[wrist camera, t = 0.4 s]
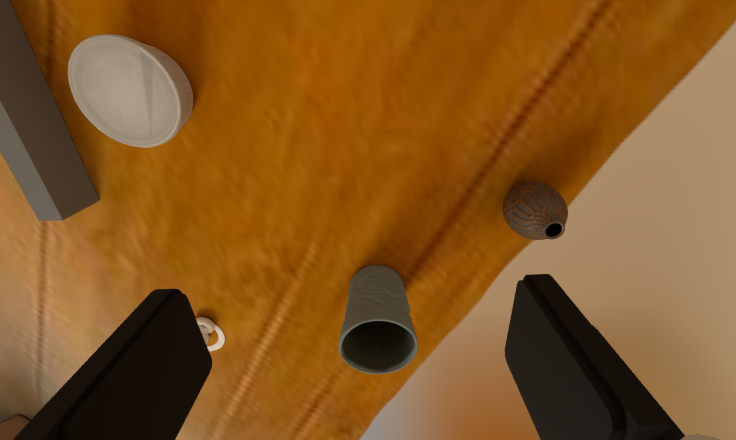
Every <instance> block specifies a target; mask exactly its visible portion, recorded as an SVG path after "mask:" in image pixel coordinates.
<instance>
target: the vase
mask: <svg viewBox="0 0 736 440" xmlns="http://www.w3.org/2000/svg"><path fill="white" fill-rule="evenodd" d="M503 214H504V217H505V220H506V222H507V223H508V225H509V226H510V227H511V229H512V230H513V231H515V232H516V233H517V234H519V235H521V236H523V237H525V238H528V239H532V240H543V239H556V238H558V237H560V236H561V235H562V234H563V233H564V231H565V223H566V221H567V216H568V210H567V205H566V203H565V201H564V199H563V197H562V196H561V195H560V194H559V192H557V191H556V190H555V189H553V188H552V187H550V186H548V185H546V184H543V183H539V182H526V183H522V184H520V185H518V186H516V187H514V188H513V189H512V190H511V191H510V192H509V193H508V194H507V196H506V198H505V200H504V203H503Z"/></svg>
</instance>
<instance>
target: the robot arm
mask: <svg viewBox="0 0 736 440" xmlns="http://www.w3.org/2000/svg"><path fill="white" fill-rule="evenodd" d="M505 357H506V361H507V364H508V366H509V369H510V371H511V373H512V375H513V377H514V380H515V382H516V384H517V387H518V389H519V391H520V394H521V396H522V398H523V400H524V403H525V405H526V407H527V409H528V412H529V414H530V416H531V419H532V421H533V423H534V425H535V427H536V430H537V432H538V434H539V436H540V439H541V440H719V439H716V438H714V437H709V436H704V435H698V434H697V435H688V436H685V435H684V434H683V433H682V432H681V430H680V429H679V428H678V427H677V425H676V424H675V423H674V422H673V421H672V419H671V418H670V417H669V416H668V415H667V413H666V412H665V411H664V410H663V409H662V407H661V406H660V405H659V404H658V402H657V401H656V400H655V399H654V398H653V396H652V395H651V394H650V393H649V392H648V390H647V389H646V388H645V387H644V386H643V384H642V383H641V382H640V381H639V380H638V378H637V377H636V376H635V375H634V373H633V372H632V371H631V370H630V369H629V368H628V366H627V365H626V364H625V362H624V361H623V360H622V359H621V358H620V357H619V355H618V354H617V353H616V352H615V350H614V349H613V348H612V347H611V346H610V344H609V343H608V342H607V341H606V340H605V338H604V337H603V336H602V335H601V333H600V332H599V331H598V330H597V329H596V328H595V327H594V326H593V325H591V324H590V322H589V321H588V320H587V319H586V318H585V316H584V315H583V314H582V313H581V312H580V310H579V309H578V308H577V307H576V306H575V304H574V303H573V302H572V300H571V299H570V298H569V297H568V296H567V294H566V293H565V292H564V291H563V290H562V288H561V287H560V286H559V285H558V283H557V282H556V281H555V280H554V279H553V277H552V276H551V275H549V274H538V275H537V274H535V275H526V276H525V277H524V279H523V280H520V281H518V283H517V287H516V293H515V298H514V304H513V309H512V314H511V320H510V325H509V330H508V335H507V341H506V346H505ZM211 367H212V358H211V355H210V353H209V350H208V348H207V345H206V343H205V340H204V338H203V335H202V333H201V330H200V328H199V325H198V323H197V320H196V318H195V315H194V313H193V310H192V308H191V305H190V303H189V300H188V298H187V296H186V295H185V294H182V293H181V291H180V290H178V289H157V290H154V291H153V292H151V293H150V294H149V295H148V296H147V297H146V299H145V300H144V301H143V302H142V303H141V304H140V305H139V306H138V307H137V308H136V309H135V310H134V311H133V312H132V313H131V314H130V316H129V317H128V318H127V319H126V320H125V321H124V322H123V323H122V324H121V325H120V326H119V327H118V328H117V329H116V330H115V331H114V332H113V334H112V335H111V336H110V337H109V338H108V339H107V340H106V341H105V342H104V343H103V344H102V345H101V346H100V347H99V348H98V349H97V351H96V352H95V353H94V354H93V355H92V356H91V357H90V358H89V359H88V360H87V361H86V362H85V363H84V364H83V365H82V366H81V368H80V369H79V370H78V371H77V372H76V373H75V374H74V375H73V376H72V377H71V378H70V379H69V380H68V381H67V382H66V383H65V385H64V386H63V387H62V388H61V389H60V390H59V391H58V392H57V393H56V394H55V395H54V396H53V397H52V398H51V399H50V400H49V401H48V403H47V404H46V405H45V406H44V407H43V408H42V409H41V410H40V411H39V412H38V413H37V414H36V415H35V416H34V417H33V418H32V420H31V421H30V422H29V423H28V424H27V425H26V426H25V427H24V428H23V429H22V430H21V431H20V432H19V433H18V434H17V435H16V437H15V438H14V439H13V440H175V439H176V437H177V435H178V433H179V431H180V429H181V427H182V425H183V423H184V421H185V419H186V417H187V415H188V414H189V412H190V410H191V408H192V406H193V404H194V402H195V400H196V398H197V396H198V394H199V392H200V390H201V388H202V386H203V385H204V383H205V381H206V379H207V377H208V375H209V373H210V371H211Z"/></svg>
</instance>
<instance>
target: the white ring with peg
mask: <svg viewBox="0 0 736 440" xmlns="http://www.w3.org/2000/svg"><path fill="white" fill-rule="evenodd" d="M196 320H197V323H198V325H199V328H200V330H201V333H202V335H203V338H204V340H205V343H206V345H207V343H208V340H209V335H208V333H211V332H213V331H214V330H215V331H216V332H217V333H218V336H219V339H218V342H217V343H216V344H214V345H212V346H208V347H207V348H208V350H209V351H214V350H217V349H219V348H220V347H222V345H223V344H224V342H225V336H224V333H223V331H222V330H221V329H220V328H219V327H218V326H217V325H216V324H214V323H213V322H212V321H211V320H210V319H208V318H204V317H198V318H196ZM203 325H204V326H203Z"/></svg>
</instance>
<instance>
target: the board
mask: <svg viewBox="0 0 736 440" xmlns="http://www.w3.org/2000/svg"><path fill="white" fill-rule="evenodd" d="M0 152H1V154H2V155H3V157H4V159H5V161H6V163H7V164H8V166H9V168H10V170H11V172H12V173H13V175H14V177H15V179H16V180H17V182H18V184H19V186H20V188H21V189H22V191H23V193H24V195H25V196H26V198H27V200H28V202H29V204H30V205H31V207H32V209H33V211H34V212H35V214H36V216H37V218H38V220H39V221H46V220H64V219H66V218H68V217H70V216H72V215H74V214H75V213H77V212H79V211H81V210H83V209H85V208H87V207H88V206H90V205H92V204H94V203H96V202H98V201H100V200H99V198H98V195H97V193H96V191H95V189H94V186H93V184H92V182H91V180H90V177H89V175H88V173H87V171H86V169H85V166H84V164H83V162H82V160H81V157H80V155H79V153H78V151H77V149H76V146H75V144H74V142H73V140H72V137H71V135H70V133H69V131H68V128H67V126H66V124H65V122H64V120H63V117H62V115H61V113H60V111H59V108H58V106H57V104H56V102H55V99H54V97H53V95H52V93H51V91H50V88H49V86H48V84H47V82H46V79H45V77H44V75H43V73H42V71H41V68H40V66H39V64H38V62H37V59H36V57H35V55H34V53H33V50H32V48H31V46H30V44H29V42H28V39H27V37H26V35H25V33H24V30H23V28H22V26H21V24H20V22H19V19H18V17H17V15H16V13H15V10H14V8H13V6H12V4H11V1H10V0H0Z"/></svg>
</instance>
